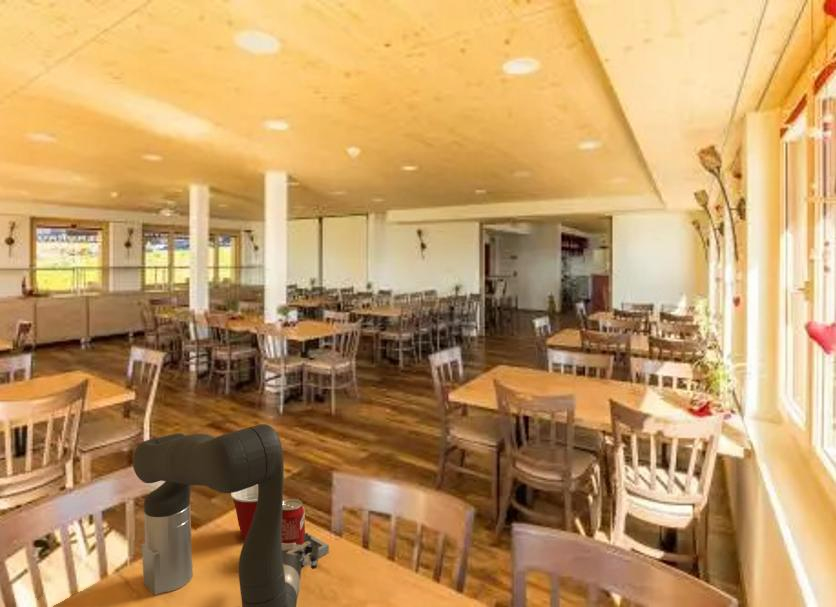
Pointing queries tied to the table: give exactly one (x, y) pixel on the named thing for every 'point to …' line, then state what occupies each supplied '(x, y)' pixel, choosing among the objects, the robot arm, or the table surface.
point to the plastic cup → (245, 507)
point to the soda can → (292, 524)
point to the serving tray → (322, 546)
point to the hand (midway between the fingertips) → (287, 538)
